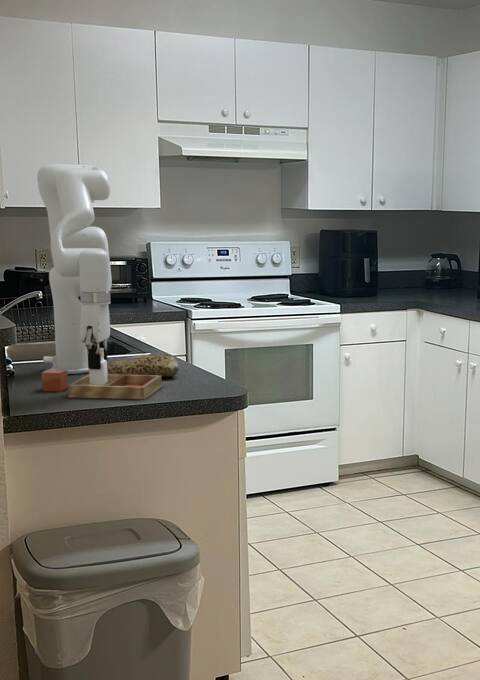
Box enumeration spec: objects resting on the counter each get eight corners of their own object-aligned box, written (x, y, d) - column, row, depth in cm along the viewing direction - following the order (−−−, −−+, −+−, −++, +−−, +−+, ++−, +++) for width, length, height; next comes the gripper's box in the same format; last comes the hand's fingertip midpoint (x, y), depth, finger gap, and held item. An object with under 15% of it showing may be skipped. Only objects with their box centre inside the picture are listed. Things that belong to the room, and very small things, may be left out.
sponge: (169, 376, 264) (101, 367, 256) (175, 351, 262) (106, 341, 254) (178, 393, 253) (107, 384, 245) (184, 367, 251) (113, 357, 243)
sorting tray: (67, 397, 230) (67, 385, 230) (90, 384, 246) (89, 373, 246) (144, 399, 229) (144, 387, 228) (161, 386, 245) (161, 375, 244)
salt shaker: (89, 385, 236) (87, 349, 234) (93, 382, 240) (91, 347, 238) (104, 385, 236) (103, 349, 234) (108, 382, 240) (106, 347, 238)
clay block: (42, 391, 238) (41, 372, 237) (49, 387, 243) (49, 369, 242) (60, 391, 237) (59, 372, 236) (67, 387, 242) (67, 369, 241)
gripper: (92, 294, 242) (95, 361, 245) (69, 301, 226) (72, 373, 229) (120, 295, 242) (122, 362, 245) (98, 302, 225) (100, 373, 228)
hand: (97, 366), depth 237 cm, fingers closed on salt shaker, 4 cm apart
